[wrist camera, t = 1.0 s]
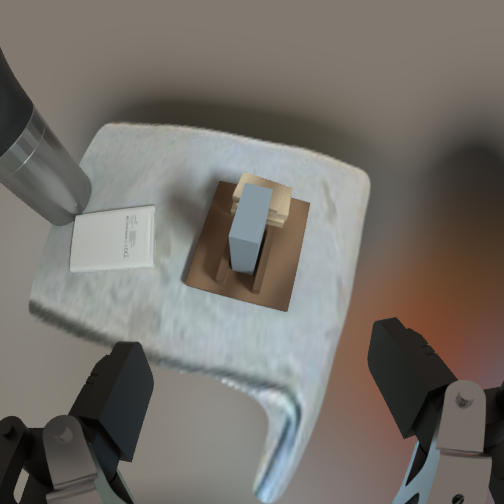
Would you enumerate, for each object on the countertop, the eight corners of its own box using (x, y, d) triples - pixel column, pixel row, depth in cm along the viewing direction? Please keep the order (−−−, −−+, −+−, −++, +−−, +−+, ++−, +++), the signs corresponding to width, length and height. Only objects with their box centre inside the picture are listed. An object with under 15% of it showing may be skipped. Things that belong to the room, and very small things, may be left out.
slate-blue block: (232, 270, 32) (228, 236, 22) (243, 230, 34) (245, 182, 23) (252, 275, 32) (258, 243, 22) (262, 235, 34) (273, 189, 23)
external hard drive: (80, 219, 35) (158, 209, 36) (75, 274, 33) (156, 269, 33) (75, 214, 34) (154, 203, 34) (68, 271, 31) (152, 265, 32)
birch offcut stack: (230, 215, 34) (229, 199, 30) (240, 186, 36) (240, 168, 32) (283, 228, 34) (289, 214, 30) (290, 199, 35) (296, 182, 31)
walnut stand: (186, 285, 32) (180, 279, 29) (220, 184, 37) (218, 170, 33) (286, 311, 32) (291, 308, 29) (308, 206, 36) (314, 193, 33)
